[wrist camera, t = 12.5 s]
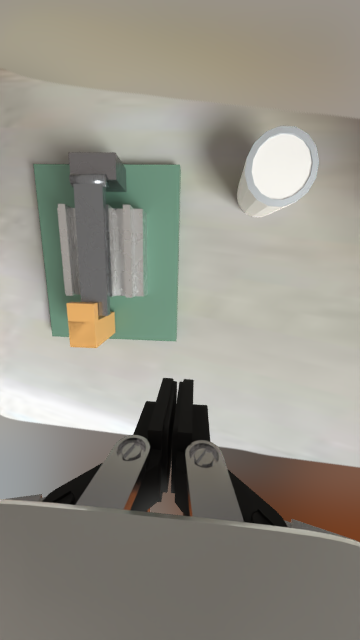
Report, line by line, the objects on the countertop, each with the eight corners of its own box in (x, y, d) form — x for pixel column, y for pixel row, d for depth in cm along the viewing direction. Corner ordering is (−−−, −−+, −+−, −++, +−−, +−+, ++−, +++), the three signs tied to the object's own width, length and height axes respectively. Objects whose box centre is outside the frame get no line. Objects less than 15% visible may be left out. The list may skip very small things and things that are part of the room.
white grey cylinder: (260, 234, 28) (282, 222, 21) (220, 199, 27) (229, 175, 21) (299, 187, 27) (336, 158, 20) (257, 149, 26) (281, 106, 19)
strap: (74, 177, 23) (68, 171, 21) (108, 177, 22) (103, 171, 21) (83, 313, 26) (78, 315, 24) (113, 314, 25) (109, 316, 24)
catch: (113, 297, 29) (93, 304, 23) (115, 332, 30) (96, 348, 24) (92, 296, 29) (66, 303, 23) (94, 331, 30) (70, 346, 24)
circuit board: (180, 170, 27) (180, 164, 25) (176, 338, 32) (175, 341, 30) (41, 169, 28) (33, 164, 26) (58, 333, 33) (52, 336, 31)
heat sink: (146, 169, 26) (138, 151, 22) (147, 294, 29) (140, 298, 25) (65, 168, 26) (43, 151, 22) (75, 292, 30) (57, 295, 26)
